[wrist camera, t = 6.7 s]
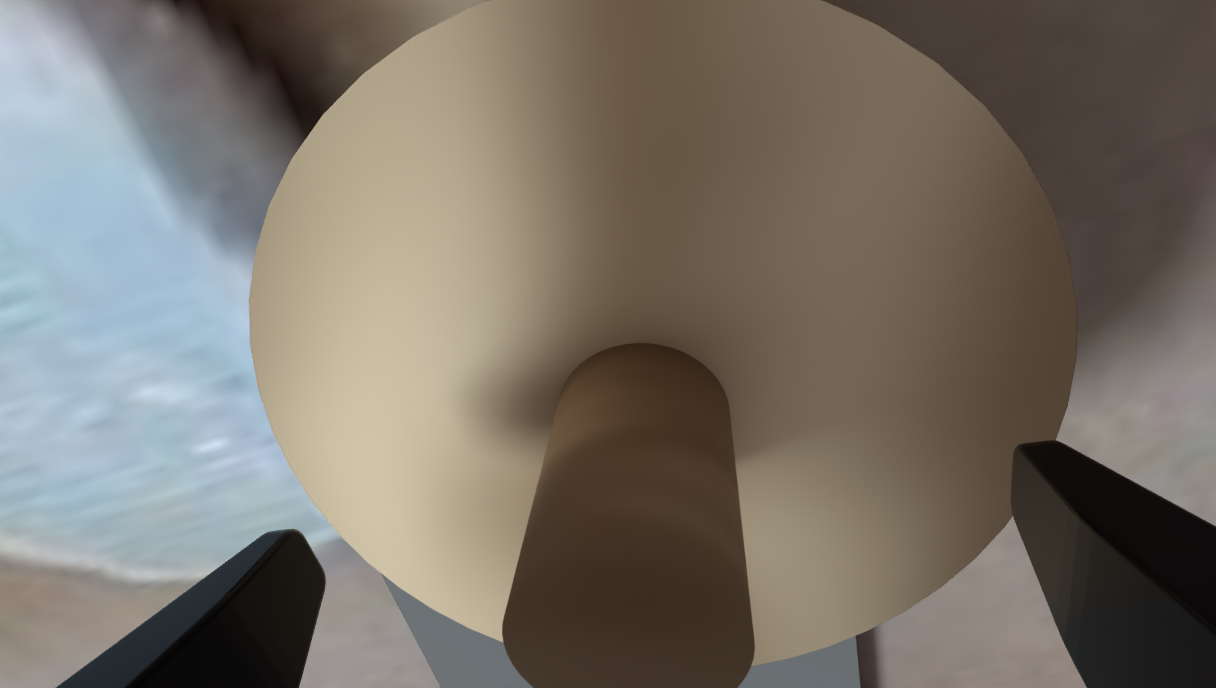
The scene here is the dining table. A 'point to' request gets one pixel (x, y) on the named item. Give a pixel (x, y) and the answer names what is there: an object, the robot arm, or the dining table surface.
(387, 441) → the lid
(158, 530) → the dining table surface
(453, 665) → the mat
